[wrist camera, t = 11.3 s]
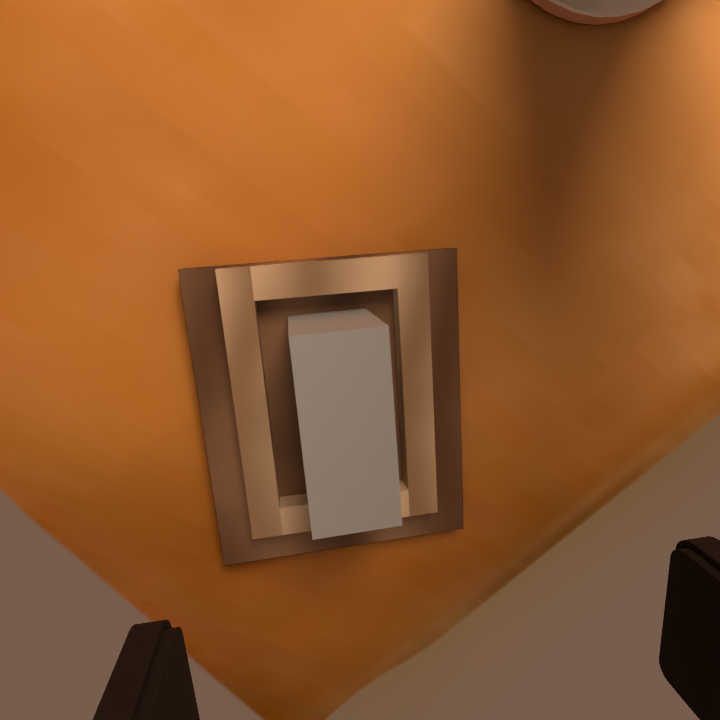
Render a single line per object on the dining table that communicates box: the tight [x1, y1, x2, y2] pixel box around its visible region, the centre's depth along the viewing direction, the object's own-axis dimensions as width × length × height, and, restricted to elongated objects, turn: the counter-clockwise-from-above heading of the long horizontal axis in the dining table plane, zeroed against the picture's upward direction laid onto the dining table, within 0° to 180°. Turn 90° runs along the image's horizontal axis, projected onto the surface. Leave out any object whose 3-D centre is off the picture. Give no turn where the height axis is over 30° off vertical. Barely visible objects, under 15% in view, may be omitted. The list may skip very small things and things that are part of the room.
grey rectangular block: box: [288, 308, 402, 540], centre depth 23 cm, size 4×9×6 cm, turn 5°
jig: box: [178, 248, 463, 565], centre depth 26 cm, size 14×16×2 cm
